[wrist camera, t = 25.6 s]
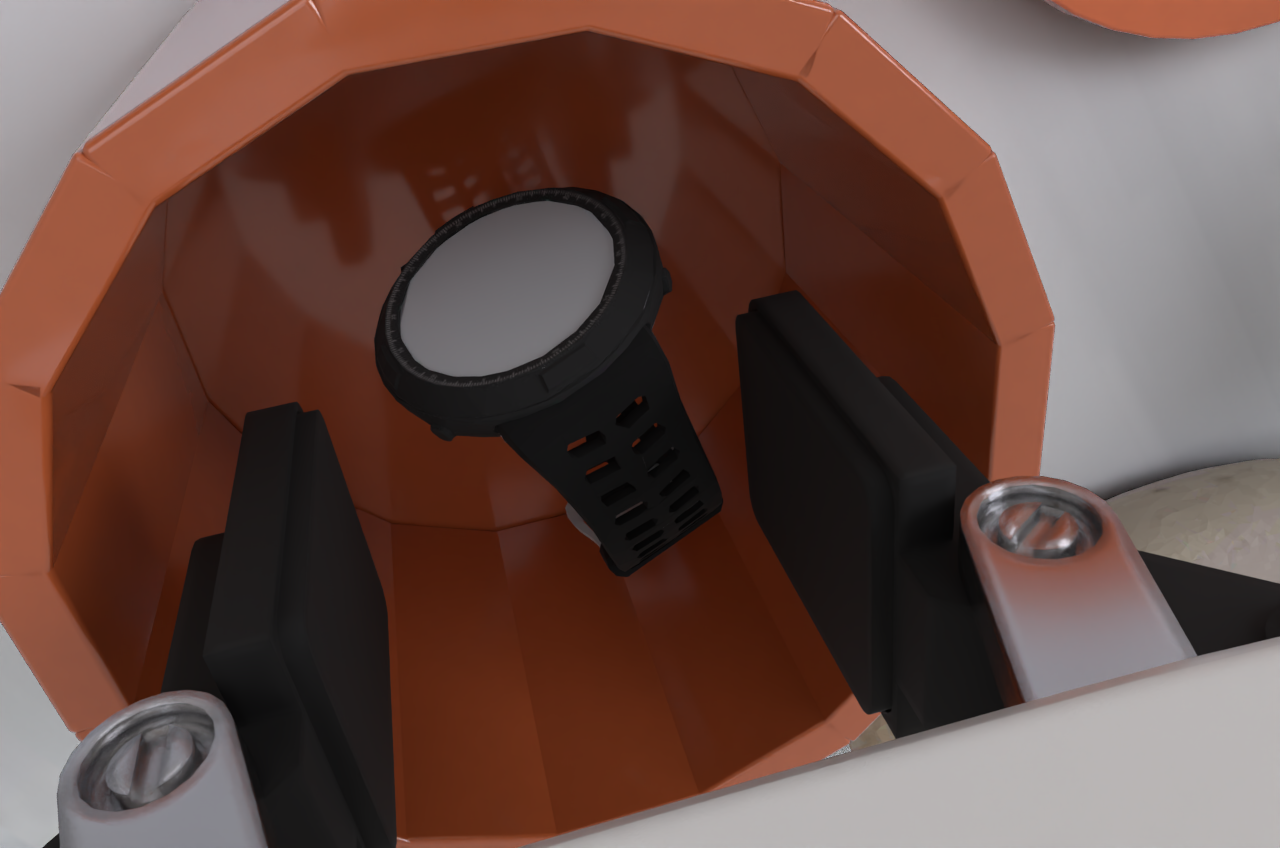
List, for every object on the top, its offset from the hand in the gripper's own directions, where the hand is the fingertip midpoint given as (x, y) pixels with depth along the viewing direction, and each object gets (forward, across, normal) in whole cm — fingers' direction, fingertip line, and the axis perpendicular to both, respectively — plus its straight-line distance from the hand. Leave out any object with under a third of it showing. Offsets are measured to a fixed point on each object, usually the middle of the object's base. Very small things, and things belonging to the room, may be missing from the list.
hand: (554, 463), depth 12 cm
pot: (+6, 0, 0) cm, 6 cm away
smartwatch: (+4, 0, 0) cm, 4 cm away
